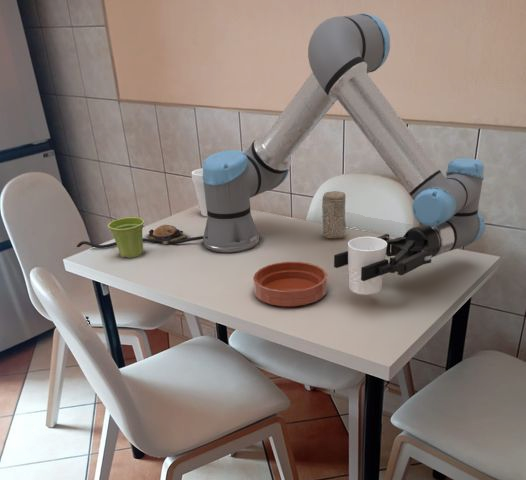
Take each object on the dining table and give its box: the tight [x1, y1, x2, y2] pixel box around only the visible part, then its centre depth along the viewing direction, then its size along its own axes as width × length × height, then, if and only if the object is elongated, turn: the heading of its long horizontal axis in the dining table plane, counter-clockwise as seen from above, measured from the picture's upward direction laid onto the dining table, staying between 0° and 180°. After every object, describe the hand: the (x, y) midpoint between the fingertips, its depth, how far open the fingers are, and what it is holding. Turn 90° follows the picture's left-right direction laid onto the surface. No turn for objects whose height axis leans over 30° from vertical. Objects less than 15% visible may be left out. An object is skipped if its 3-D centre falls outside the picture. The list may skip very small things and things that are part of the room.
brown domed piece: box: [146, 224, 188, 246], centre depth 163 cm, size 11×8×4 cm
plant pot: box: [107, 216, 145, 259], centre depth 152 cm, size 9×9×9 cm
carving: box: [321, 190, 347, 239], centre depth 154 cm, size 6×8×12 cm
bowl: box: [252, 261, 328, 307], centre depth 128 cm, size 16×16×4 cm
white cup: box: [347, 236, 387, 296], centre depth 119 cm, size 8×8×10 cm
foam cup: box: [191, 167, 207, 217], centre depth 178 cm, size 10×9×13 cm
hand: (348, 267), depth 116 cm, fingers closed on white cup, 8 cm apart
